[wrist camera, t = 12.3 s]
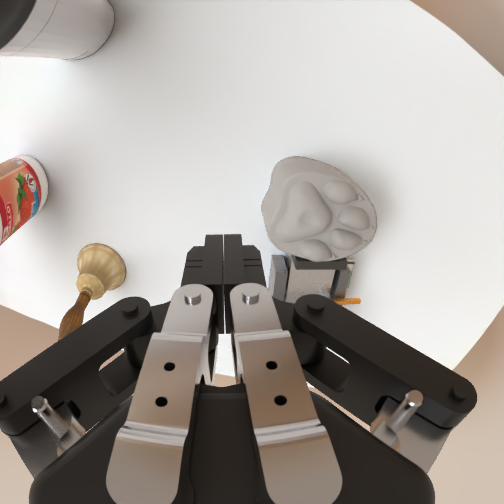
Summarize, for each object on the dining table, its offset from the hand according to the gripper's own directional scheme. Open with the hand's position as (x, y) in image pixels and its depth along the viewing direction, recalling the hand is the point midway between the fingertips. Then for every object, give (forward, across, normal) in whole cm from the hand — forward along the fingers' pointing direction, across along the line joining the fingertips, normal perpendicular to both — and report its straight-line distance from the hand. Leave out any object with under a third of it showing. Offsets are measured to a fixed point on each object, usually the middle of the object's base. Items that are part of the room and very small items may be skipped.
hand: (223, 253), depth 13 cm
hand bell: (+26, +20, +17) cm, 37 cm away
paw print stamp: (+26, -11, +7) cm, 29 cm away
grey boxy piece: (+25, -14, +18) cm, 33 cm away
